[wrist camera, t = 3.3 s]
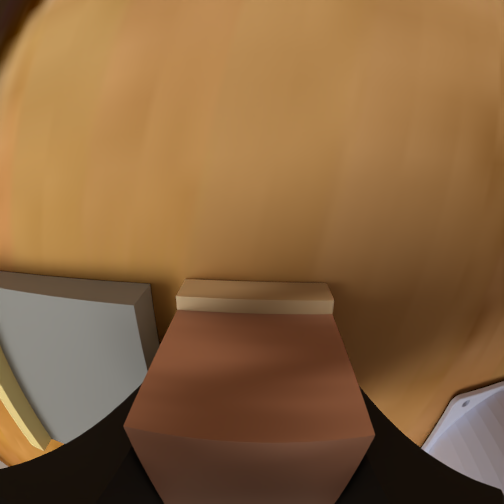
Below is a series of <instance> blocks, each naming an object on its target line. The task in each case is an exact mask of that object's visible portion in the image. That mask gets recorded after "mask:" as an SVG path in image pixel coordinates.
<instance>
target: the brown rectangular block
mask: <svg viewBox="0 0 504 504" xmlns="http://www.w3.org/2000/svg"><path fill="white" fill-rule="evenodd" d="M176 303H177V311H176V313H175V315H174V317H173V319H172V321H171V323H170V325H169V328H168V330H167V332H166V334H165V336H164V338H163V340H162V342H161V344H160V346H159V348H158V350H157V353H156V355H155V357H154V359H153V361H152V363H151V365H150V368H149V370H148V372H147V374H146V376H145V378H144V381H143V383H142V385H141V387H140V389H139V392H138V394H137V396H136V398H135V400H134V403H133V405H132V407H131V409H130V412H129V414H128V416H127V419H126V421H125V423H124V425H123V426H124V429H125V431H126V433H127V435H128V437H129V439H130V442H131V444H132V446H133V448H134V450H135V452H136V454H137V456H138V458H139V460H140V462H141V464H142V465H143V467H144V469H145V471H146V473H147V475H148V476H149V478H150V480H151V482H152V484H153V485H154V487H155V489H156V490H157V492H158V494H159V495H160V497H161V499H162V500H163V502H164V503H165V504H335V502H336V501H337V499H338V498H339V496H340V495H341V493H342V492H343V490H344V489H345V487H346V486H347V484H348V482H349V481H350V479H351V478H352V476H353V474H354V473H355V471H356V469H357V468H358V466H359V464H360V462H361V461H362V459H363V457H364V455H365V453H366V452H367V450H368V448H369V446H370V444H371V442H372V440H373V439H374V437H375V433H374V429H373V426H372V423H371V420H370V417H369V414H368V411H367V408H366V405H365V402H364V399H363V397H362V394H361V391H360V388H359V385H358V382H357V379H356V377H355V374H354V371H353V368H352V365H351V363H350V360H349V357H348V354H347V352H346V349H345V346H344V344H343V341H342V338H341V336H340V333H339V330H338V328H337V325H336V323H335V320H334V317H333V315H332V313H333V306H334V299H333V296H332V294H331V292H330V290H329V287H328V285H327V283H301V282H256V281H224V280H198V279H185V280H184V282H183V284H182V286H181V288H180V289H179V291H178V293H177V295H176Z"/></svg>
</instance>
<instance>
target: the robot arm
mask: <svg viewBox="0 0 504 504" xmlns="http://www.w3.org/2000/svg"><path fill="white" fill-rule="evenodd" d="M141 385H142V384H141ZM141 385H140V386H139V387H138V388H137V389H136V390H135V391H134V392H132V393H131V394H130V395H129V396H128V397H127V398H126V399H125V400H124V401H123V402H122V403H121V404H120V405H119V406H117V407H116V408H115V409H114V410H113V411H112V412H110V413H109V414H108V415H107V416H106V417H105V418H103V419H102V420H101V421H99V422H98V423H97V424H96V425H94V426H93V427H91V428H90V429H89V430H87V431H86V432H84V433H83V434H81V435H80V436H78V437H76V438H75V439H73V440H71V441H70V442H68V443H66V444H64V445H63V446H61V447H59V448H57V449H55V450H53V451H51V452H49V453H47V454H44V455H42V456H40V457H37V458H35V459H32V460H30V461H27V462H24V463H21V464H17V465H14V466H10V467H7V468H3V469H0V504H164V502H163V500H162V499H161V497H160V495H159V494H158V492H157V490H156V489H155V487H154V485H153V484H152V482H151V480H150V478H149V476H148V475H147V473H146V471H145V469H144V467H143V465H142V464H141V462H140V460H139V458H138V456H137V454H136V452H135V450H134V448H133V446H132V444H131V442H130V439H129V437H128V435H127V433H126V431H125V429H124V426H123V425H124V423H125V421H126V419H127V416H128V414H129V412H130V409H131V407H132V405H133V403H134V400H135V398H136V396H137V394H138V392H139V389H140V387H141ZM359 388H360V386H359ZM360 391H361V394H362V397H363V399H364V402H365V405H366V408H367V411H368V414H369V417H370V420H371V423H372V426H373V429H374V433H375V437H374V439H373V440H372V442H371V444H370V446H369V448H368V450H367V452H366V453H365V455H364V457H363V459H362V461H361V462H360V464H359V466H358V468H357V469H356V471H355V473H354V474H353V476H352V478H351V479H350V481H349V482H348V484H347V486H346V487H345V489H344V490H343V492H342V493H341V495H340V496H339V498H338V499H337V501H336V502H335V504H504V381H502V382H499V383H496V384H493V385H490V386H487V387H484V388H481V389H477V390H474V391H470V392H467V393H463V394H459V395H457V396H456V397H454V398H453V399H452V400H451V401H450V403H449V405H448V407H447V408H446V410H445V412H444V413H443V415H442V417H441V418H440V420H439V422H438V423H437V425H436V426H435V428H434V430H433V431H432V433H431V434H430V436H429V437H428V439H427V440H426V442H425V443H424V445H423V446H422V447H421V448H420V447H419V446H417V445H416V444H415V443H414V442H413V441H411V440H410V439H409V438H408V437H407V436H405V435H404V434H403V433H402V432H401V431H400V430H399V429H398V428H397V427H396V426H395V425H394V424H393V423H392V422H391V421H390V420H389V419H388V418H387V417H386V416H385V415H384V414H383V413H382V412H381V411H380V410H379V409H378V408H377V406H376V405H375V404H374V403H373V402H372V401H371V400H370V398H369V397H368V396H367V395H366V394H365V393H364V391H363V390H362V389H361V388H360Z"/></svg>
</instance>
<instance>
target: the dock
mask: <svg viewBox="0 0 504 504" xmlns="http://www.w3.org/2000/svg"><path fill="white" fill-rule="evenodd" d="M159 346H160V345H159V339H158V333H157V328H156V321H155V315H154V308H153V301H152V294H151V287H150V284H145V283H129V282H115V281H101V280H88V279H76V278H65V277H54V276H43V275H33V274H24V273H14V272H6V271H0V399H1V400H2V402H3V404H4V405H5V407H6V409H7V410H8V412H9V413H10V415H11V416H12V418H13V419H14V421H15V422H16V424H17V425H18V427H19V428H20V429H21V431H22V432H23V434H24V435H25V436H26V438H27V439H28V441H29V442H30V443H31V444H32V446H34V447H36V448H39V449H41V450H43V451H45V449H46V447H47V445H48V444H49V442H50V440H51V439H54V440H56V441H59V442H61V443H64V444H66V443H68V442H70V441H71V440H73V439H75V438H76V437H78V436H80V435H81V434H83V433H84V432H86V431H87V430H89V429H90V428H91V427H93V426H94V425H96V424H97V423H98V422H99V421H101V420H102V419H103V418H105V417H106V416H107V415H108V414H109V413H110V412H112V411H113V410H114V409H115V408H116V407H117V406H119V405H120V404H121V403H122V402H123V401H124V400H125V399H126V398H127V397H128V396H129V395H130V394H131V393H132V392H134V391H135V390H136V389H137V388H138V387H139V386H140V385H141V384H142V383H143V381H144V378H145V376H146V374H147V372H148V370H149V368H150V365H151V363H152V361H153V359H154V357H155V355H156V353H157V350H158V348H159Z"/></svg>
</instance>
